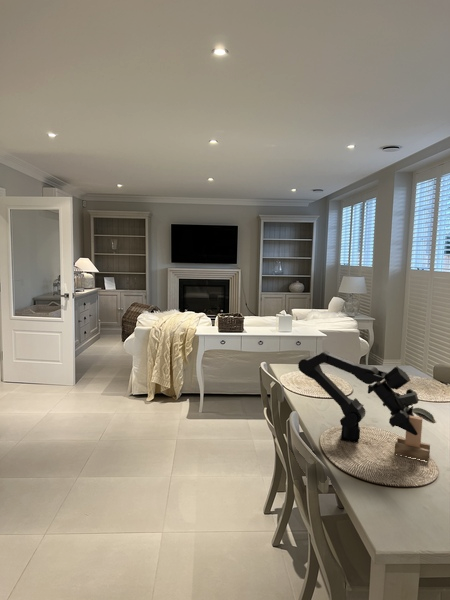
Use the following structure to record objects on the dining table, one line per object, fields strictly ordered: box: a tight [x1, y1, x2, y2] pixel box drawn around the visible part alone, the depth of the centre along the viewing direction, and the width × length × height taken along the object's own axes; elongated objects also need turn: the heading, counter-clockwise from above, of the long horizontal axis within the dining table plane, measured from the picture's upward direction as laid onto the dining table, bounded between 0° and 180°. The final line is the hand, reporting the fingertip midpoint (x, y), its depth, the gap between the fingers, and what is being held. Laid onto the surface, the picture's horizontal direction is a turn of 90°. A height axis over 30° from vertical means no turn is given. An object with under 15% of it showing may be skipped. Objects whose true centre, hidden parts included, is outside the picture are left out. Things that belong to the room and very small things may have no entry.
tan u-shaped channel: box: [393, 436, 431, 462], centre depth 152 cm, size 11×8×4 cm
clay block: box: [404, 415, 424, 448], centre depth 151 cm, size 5×2×13 cm, turn 60°
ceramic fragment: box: [413, 407, 437, 423], centre depth 189 cm, size 14×5×4 cm, turn 14°
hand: (417, 431), depth 150 cm, fingers open, 6 cm apart
